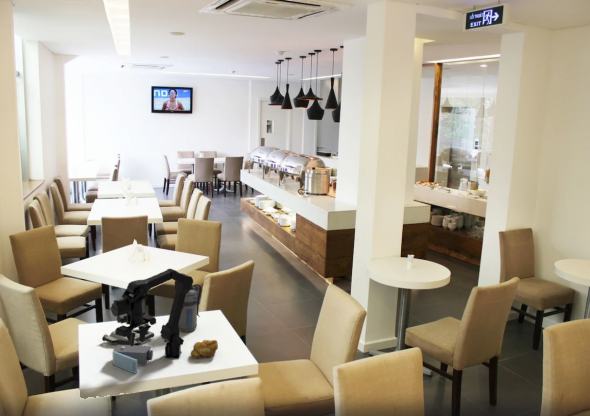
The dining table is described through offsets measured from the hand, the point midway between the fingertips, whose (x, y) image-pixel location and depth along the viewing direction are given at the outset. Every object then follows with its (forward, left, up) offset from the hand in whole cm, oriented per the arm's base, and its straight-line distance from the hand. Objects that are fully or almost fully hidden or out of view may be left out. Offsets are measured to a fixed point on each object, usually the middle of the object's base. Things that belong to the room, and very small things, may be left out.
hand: (136, 343), depth 221 cm
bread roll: (-27, -16, -12) cm, 34 cm away
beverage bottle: (-14, -45, -12) cm, 49 cm away
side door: (+5, +1, -12) cm, 13 cm away
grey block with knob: (+4, -7, -12) cm, 15 cm away
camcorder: (+11, -27, -12) cm, 32 cm away
